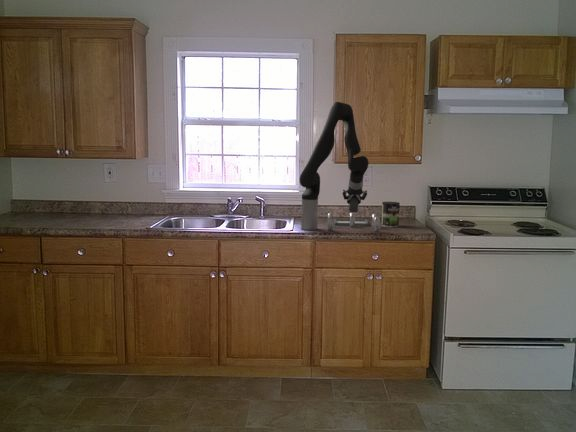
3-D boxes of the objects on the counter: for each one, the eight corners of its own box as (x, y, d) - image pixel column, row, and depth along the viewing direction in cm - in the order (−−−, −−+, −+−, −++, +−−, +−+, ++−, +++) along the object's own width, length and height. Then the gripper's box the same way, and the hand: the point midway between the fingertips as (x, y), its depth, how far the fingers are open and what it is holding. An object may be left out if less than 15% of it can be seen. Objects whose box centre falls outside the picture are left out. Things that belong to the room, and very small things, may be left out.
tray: (335, 225, 327) (335, 222, 326) (334, 220, 344) (334, 218, 344) (368, 226, 325) (368, 223, 325) (366, 221, 343) (366, 219, 343)
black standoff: (349, 212, 307) (350, 194, 305) (348, 210, 312) (349, 193, 310) (358, 212, 307) (359, 194, 305) (357, 210, 312) (358, 193, 310)
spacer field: (327, 231, 308) (328, 217, 306) (327, 225, 325) (327, 212, 324) (379, 232, 306) (380, 217, 305) (376, 226, 324) (377, 213, 322)
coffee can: (401, 227, 324) (402, 203, 322) (385, 227, 322) (386, 203, 319) (394, 224, 334) (395, 201, 332) (378, 224, 331) (379, 201, 329)
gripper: (368, 179, 299) (366, 198, 313) (342, 178, 300) (340, 197, 313) (369, 189, 294) (366, 208, 308) (342, 188, 295) (340, 207, 309)
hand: (353, 202), depth 311 cm, fingers closed on black standoff, 5 cm apart
